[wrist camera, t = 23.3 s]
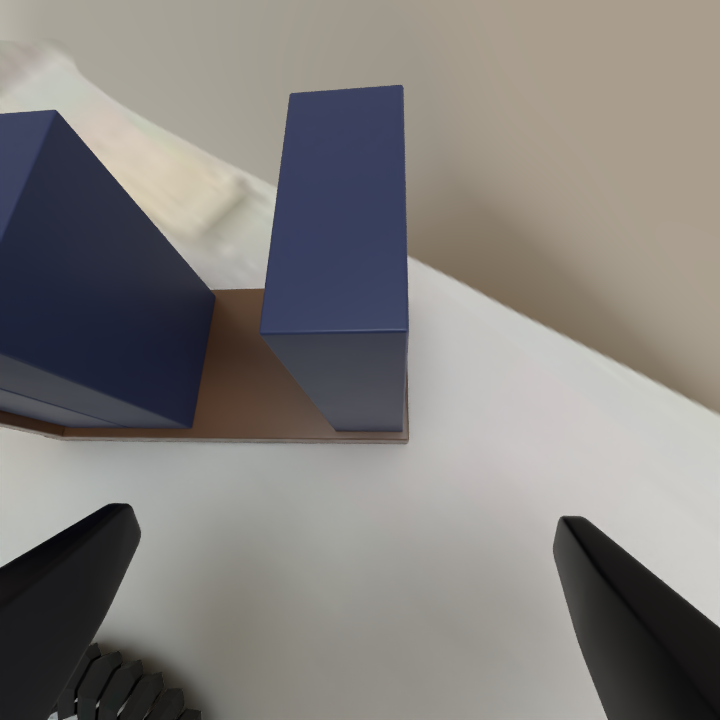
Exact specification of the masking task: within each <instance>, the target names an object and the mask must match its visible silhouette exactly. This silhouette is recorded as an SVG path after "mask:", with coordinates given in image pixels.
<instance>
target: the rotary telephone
mask: <svg viewBox="0 0 720 720" xmlns="http://www.w3.org/2000/svg"><path fill="white" fill-rule="evenodd" d="M122 663H123V661H122V657H121V654H120V650H118V651H116V652H113V653H110V654H107V655H104V656H102V657H101V651H100V649H99V647H98V644H97V643H95V644H93V645H90V646H89V647H88V648H87V650H86V652H85V654H84V656H83V657H82V659H81V661H80V663H79V664H78V666H77V668H76V670H75V672H74V673H73V675H72V677H71V679H70V680H69V682H68V684H67V686H66V688H65V689H64V691H63V693H62V695H61V696H60V698H59V700H58V702H57V704H56V705H55V707H54V709H53V711H52V713H54V712H57V711H58V720H63V719H65V718H68V717H71V716H74V715H76V714H77V718H78V720H143V718H144V716H145V715H146V713H147V711H148V710H149V708H150V707H151V706H152V704H153V703H154V702H155V700H156V699H157V697H158V696H159V694H160V693H161V691H162V690H163V688H164V682H163V676H162V672H159V673H153V674H147V675H146V676H145V677H144V678H143V679H142V680H141V681H140V679H141V677H142V675H143V673H144V671H143V667H142V663H141V660H137V661H133V662H129V663H126V664H125V665H123V666H122ZM121 666H122V667H121ZM139 681H140V682H139ZM130 696H131V697H130ZM77 697H78V702H75V703H74V701H75V700H76V699H77ZM129 697H130V699H129V700H128V698H129ZM100 699H101V700H100ZM127 700H128V702H127V704H126V706H125V708H124V709H123V710H122V712H121V713H120V714H119V715H118V716H117V713H118V711H119V709H120V708H121V707H122V705H123V704H124V703H125V702H126V701H127ZM99 701H100V704H99V707H98V708H97V709H96V704H97V703H98V702H99ZM183 706H184V700H183V691H182V688H179V689H167V690H166V691H165V693H164V694H163V695H162V696H161V698H160V699H159V701H158V702H157V704H156V706H155V707H154V709H153V710H152V711H151V712H150V713H149V714H148V715H147V716H146V717H145V719H144V720H175V718H176V717H177V715H178V714H179V712H180V711H181V709H182V707H183ZM52 713H51V714H52ZM176 720H201V711H199V710H193V709H188V708H187V709H186V710H185V711H184V712H183V713H182V714H181V715H180V716H179V717H178V718H177V719H176Z"/></svg>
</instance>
